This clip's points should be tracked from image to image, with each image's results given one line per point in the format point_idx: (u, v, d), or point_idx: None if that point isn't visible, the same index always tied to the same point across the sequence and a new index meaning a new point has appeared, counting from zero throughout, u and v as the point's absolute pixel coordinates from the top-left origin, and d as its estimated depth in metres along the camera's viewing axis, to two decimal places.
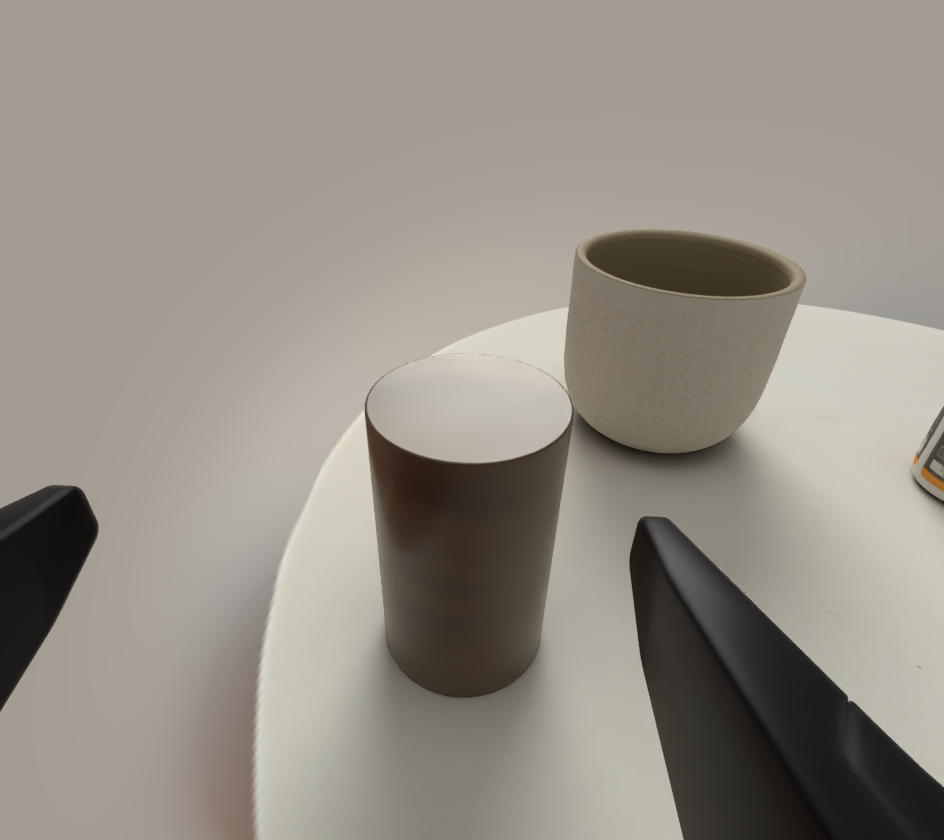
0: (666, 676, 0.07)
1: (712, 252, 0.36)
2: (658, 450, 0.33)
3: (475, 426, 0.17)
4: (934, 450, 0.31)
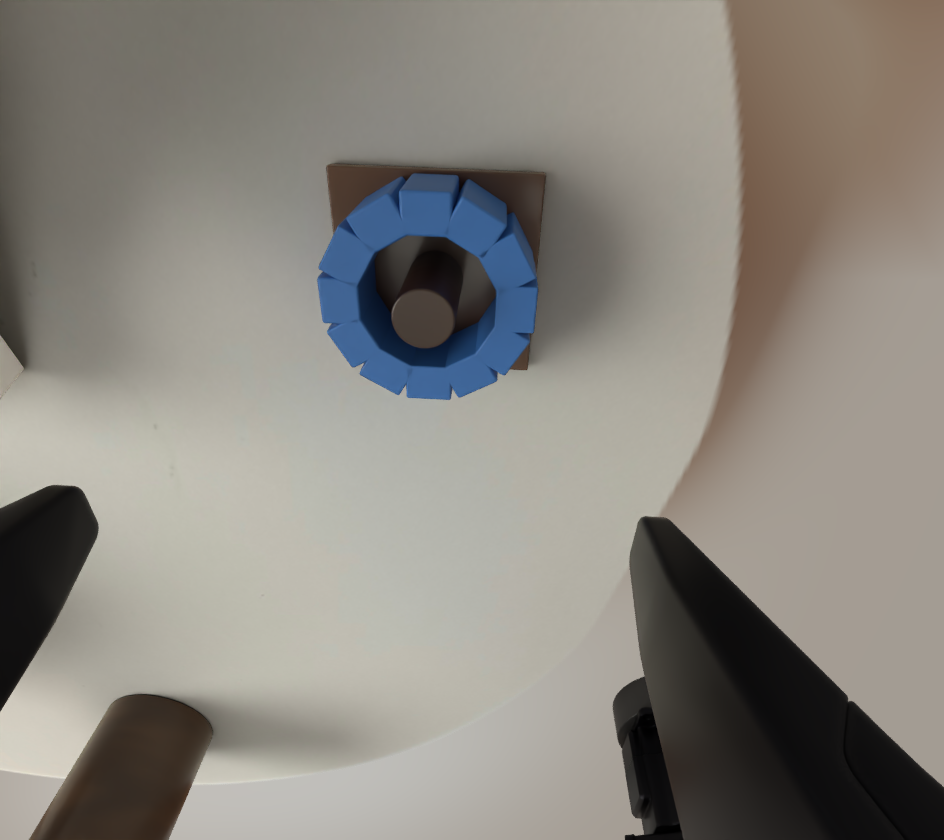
0: (666, 676, 0.07)
1: None
2: None
3: None
4: None
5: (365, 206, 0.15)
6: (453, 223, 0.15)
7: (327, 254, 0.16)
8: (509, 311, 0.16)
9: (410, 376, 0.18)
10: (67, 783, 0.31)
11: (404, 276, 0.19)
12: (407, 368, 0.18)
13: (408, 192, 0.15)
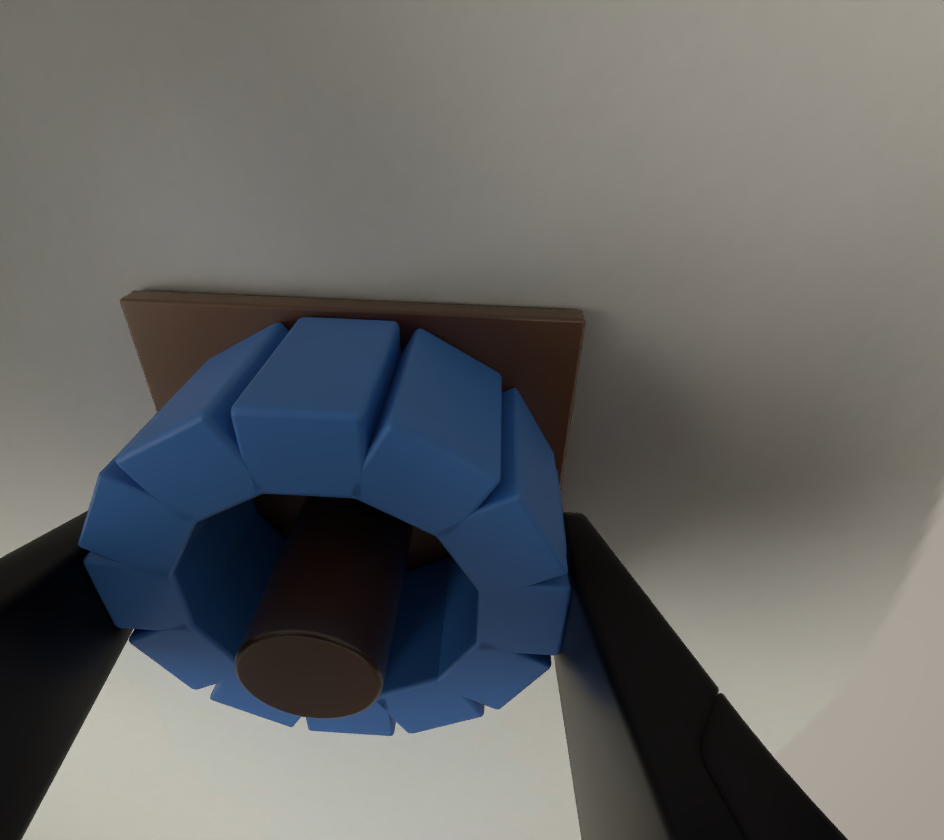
0: (568, 670, 0.07)
1: None
2: None
3: None
4: None
5: (154, 438, 0.06)
6: (371, 475, 0.06)
7: (89, 524, 0.07)
8: (507, 623, 0.08)
9: None
10: None
11: None
12: None
13: (251, 415, 0.06)
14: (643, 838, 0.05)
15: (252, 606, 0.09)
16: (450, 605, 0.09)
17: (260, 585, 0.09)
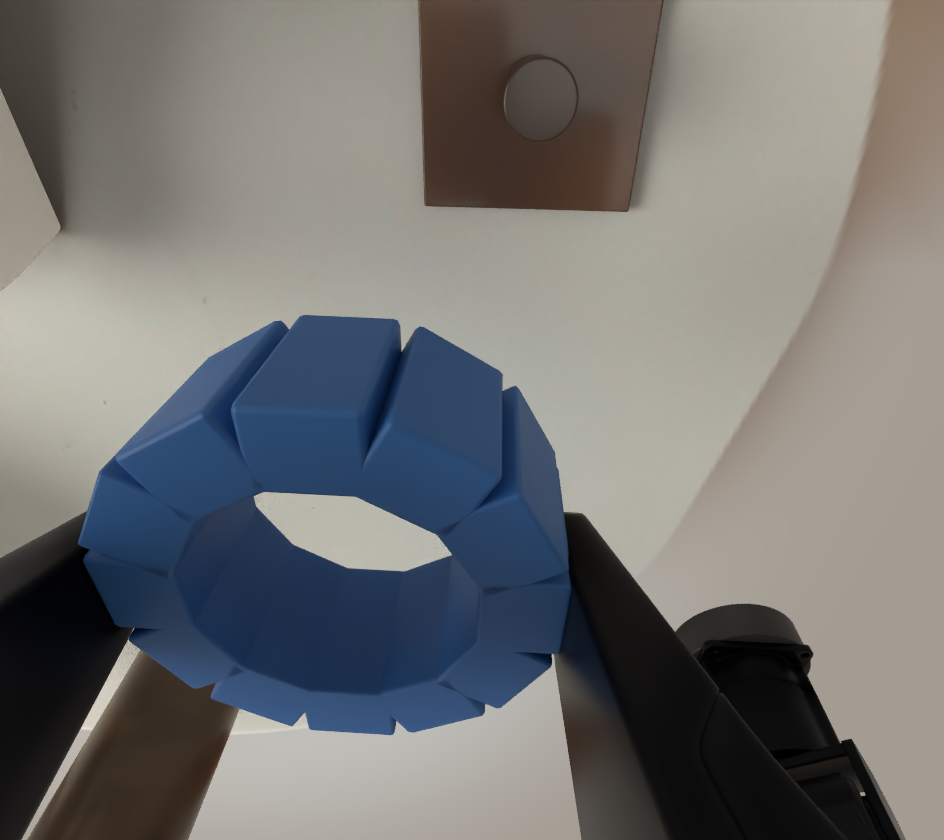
0: (568, 670, 0.07)
1: None
2: None
3: None
4: None
5: (154, 436, 0.06)
6: (371, 474, 0.06)
7: (89, 523, 0.07)
8: (508, 622, 0.07)
9: (312, 699, 0.09)
10: (104, 717, 0.29)
11: (497, 90, 0.16)
12: (303, 694, 0.09)
13: (251, 413, 0.06)
14: (643, 836, 0.05)
15: (252, 605, 0.09)
16: (451, 604, 0.09)
17: (260, 584, 0.09)
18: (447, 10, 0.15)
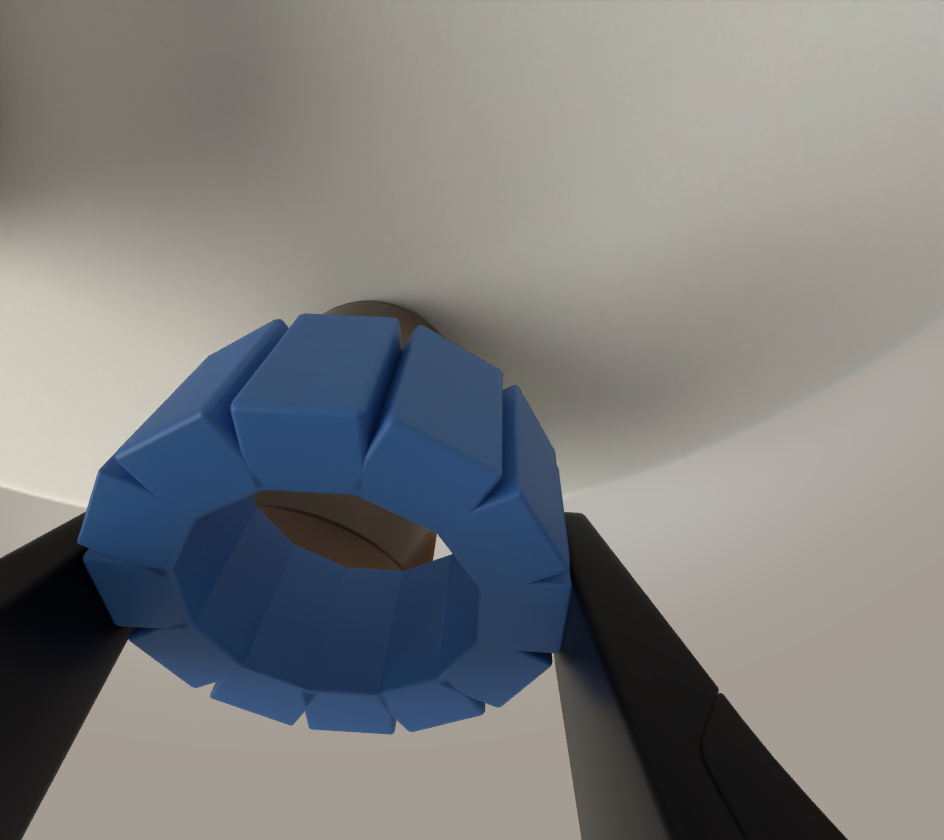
0: (568, 670, 0.07)
1: None
2: None
3: None
4: None
5: (153, 434, 0.06)
6: (371, 472, 0.06)
7: (88, 521, 0.07)
8: (509, 621, 0.07)
9: (312, 698, 0.09)
10: None
11: None
12: (303, 693, 0.09)
13: (251, 411, 0.06)
14: (642, 837, 0.05)
15: (252, 604, 0.09)
16: (451, 603, 0.09)
17: (260, 583, 0.09)
18: None
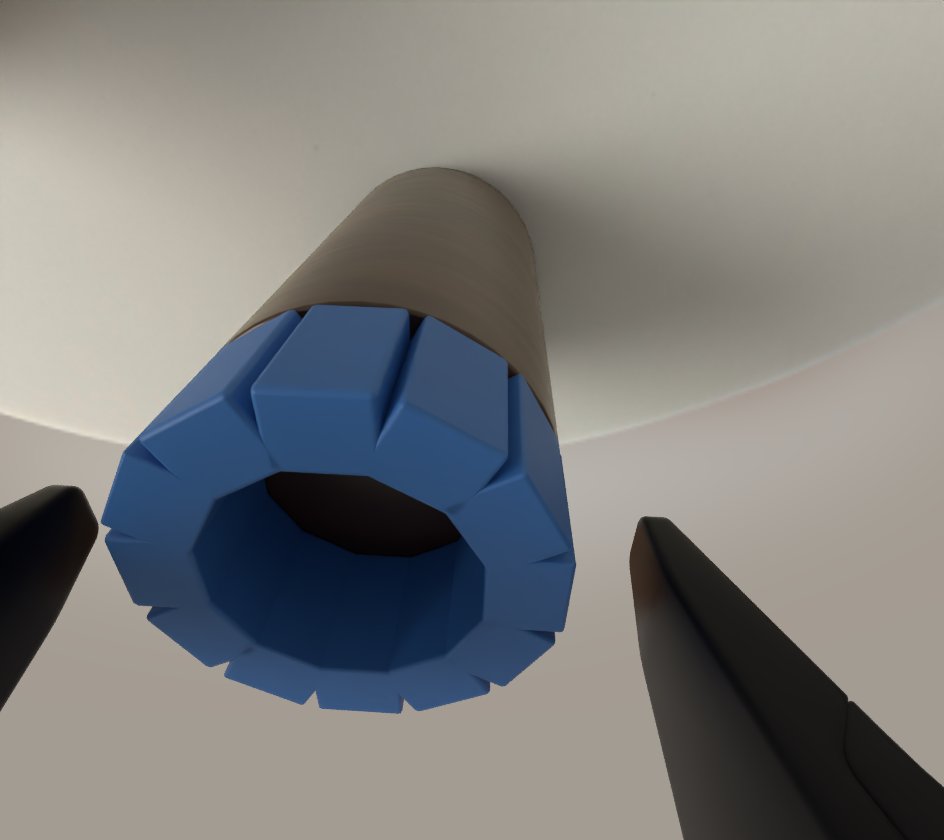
0: (666, 676, 0.07)
1: None
2: None
3: None
4: None
5: (176, 417, 0.06)
6: (384, 454, 0.07)
7: (112, 502, 0.07)
8: (513, 600, 0.08)
9: (322, 678, 0.09)
10: (339, 227, 0.14)
11: None
12: (314, 673, 0.09)
13: (270, 394, 0.06)
14: None
15: (265, 587, 0.09)
16: (457, 586, 0.10)
17: (272, 567, 0.10)
18: None
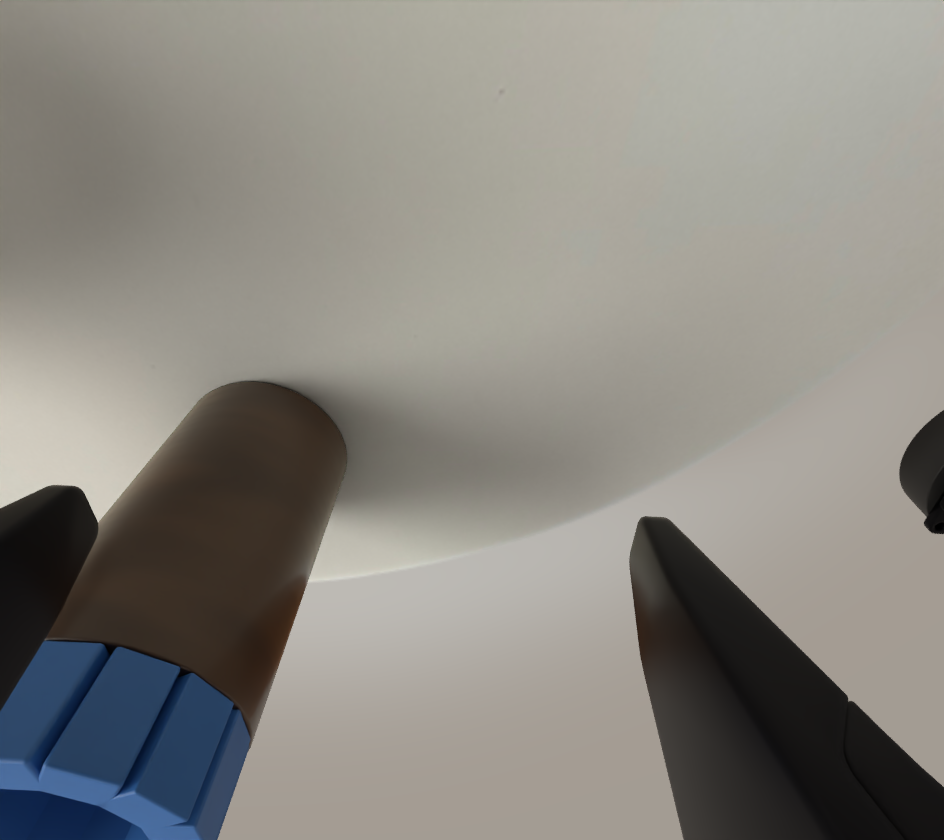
0: (666, 676, 0.07)
1: None
2: None
3: None
4: None
5: None
6: (44, 784, 0.11)
7: None
8: None
9: None
10: (143, 471, 0.18)
11: None
12: None
13: None
14: None
15: (30, 808, 0.13)
16: None
17: None
18: None
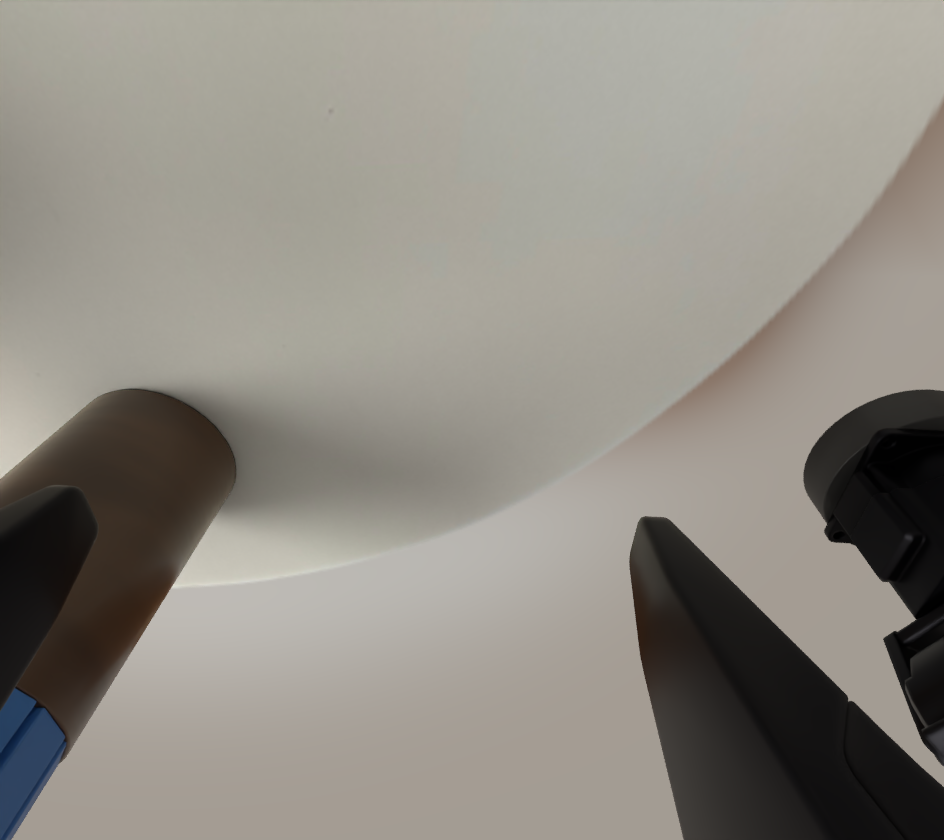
0: (666, 676, 0.07)
1: None
2: None
3: None
4: None
5: None
6: None
7: None
8: None
9: None
10: (3, 476, 0.19)
11: None
12: None
13: None
14: None
15: None
16: None
17: None
18: None
